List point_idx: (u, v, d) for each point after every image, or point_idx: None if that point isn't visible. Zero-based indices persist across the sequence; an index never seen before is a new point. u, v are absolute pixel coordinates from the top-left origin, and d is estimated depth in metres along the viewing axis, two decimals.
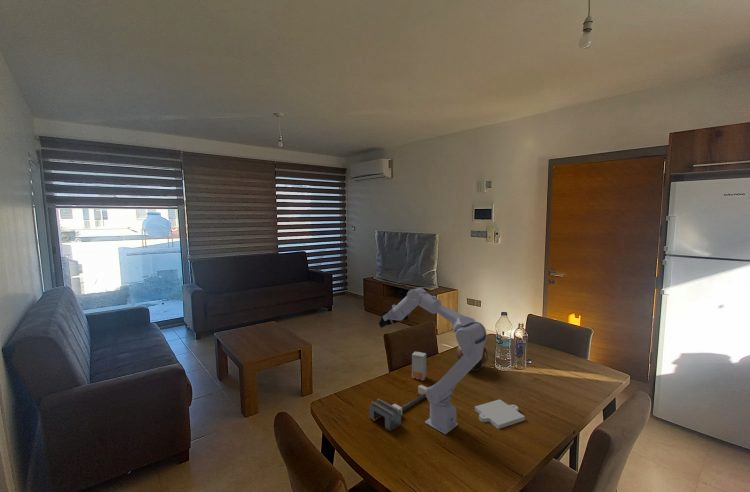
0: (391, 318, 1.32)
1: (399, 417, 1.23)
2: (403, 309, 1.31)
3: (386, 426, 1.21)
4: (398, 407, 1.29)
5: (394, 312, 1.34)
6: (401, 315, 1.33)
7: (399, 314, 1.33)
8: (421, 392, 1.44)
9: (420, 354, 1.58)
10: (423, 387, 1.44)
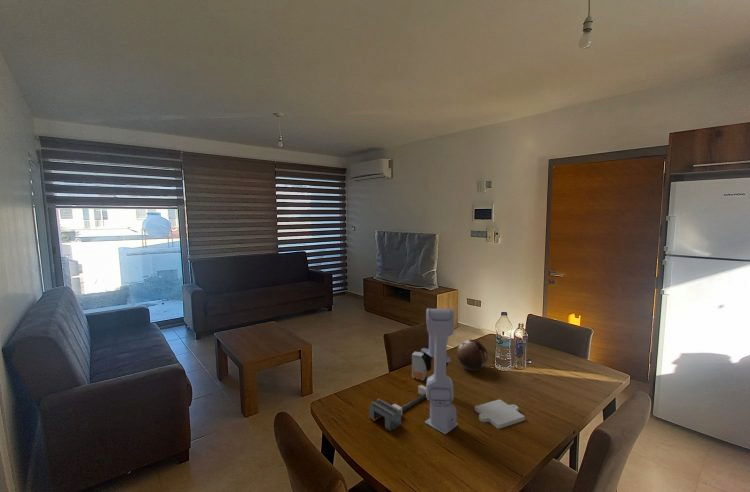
0: (424, 350, 1.48)
1: (399, 417, 1.23)
2: (429, 340, 1.44)
3: (386, 426, 1.21)
4: (398, 407, 1.29)
5: None
6: (429, 347, 1.45)
7: None
8: (421, 392, 1.44)
9: (420, 354, 1.58)
10: (423, 387, 1.44)
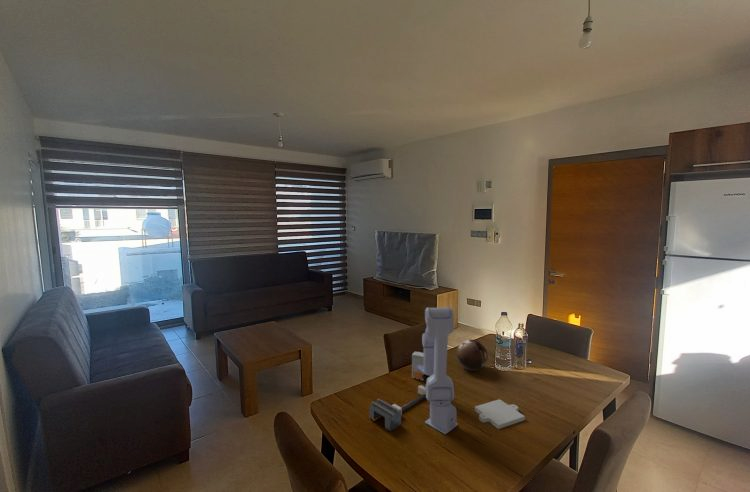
0: (419, 368, 1.47)
1: (399, 417, 1.23)
2: (424, 358, 1.42)
3: (386, 426, 1.21)
4: (398, 407, 1.29)
5: None
6: None
7: None
8: (421, 392, 1.44)
9: (420, 354, 1.58)
10: (423, 387, 1.44)
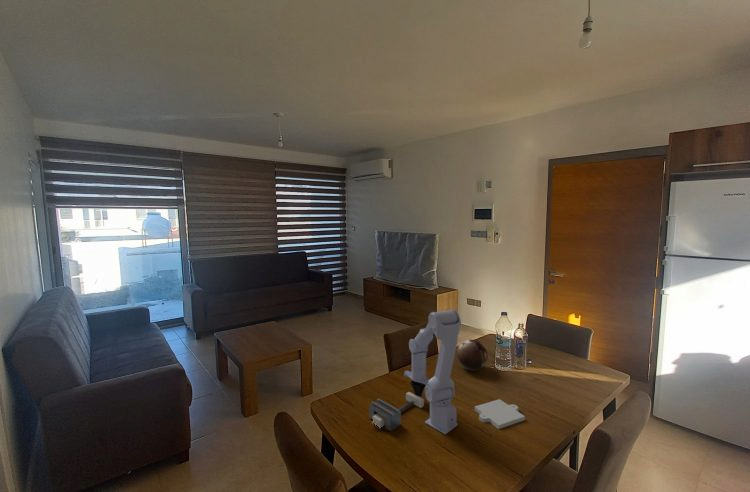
0: (407, 373, 1.41)
1: (399, 417, 1.23)
2: (414, 365, 1.36)
3: (386, 426, 1.21)
4: (383, 416, 1.24)
5: None
6: None
7: None
8: (409, 399, 1.39)
9: None
10: (411, 394, 1.39)
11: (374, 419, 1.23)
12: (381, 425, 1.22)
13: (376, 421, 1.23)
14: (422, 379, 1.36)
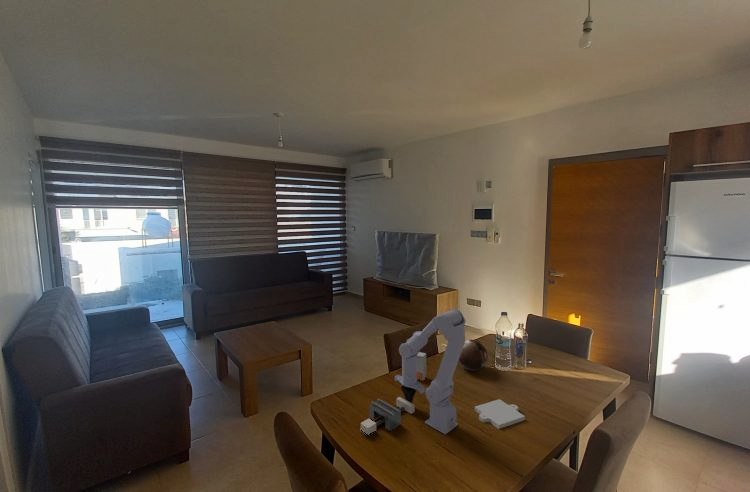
0: (398, 378, 1.37)
1: (399, 417, 1.23)
2: (406, 370, 1.31)
3: (386, 426, 1.21)
4: (372, 422, 1.20)
5: None
6: (402, 375, 1.34)
7: None
8: (399, 405, 1.35)
9: (420, 354, 1.58)
10: (401, 399, 1.35)
11: (362, 426, 1.19)
12: (369, 432, 1.18)
13: (364, 428, 1.19)
14: (413, 384, 1.32)
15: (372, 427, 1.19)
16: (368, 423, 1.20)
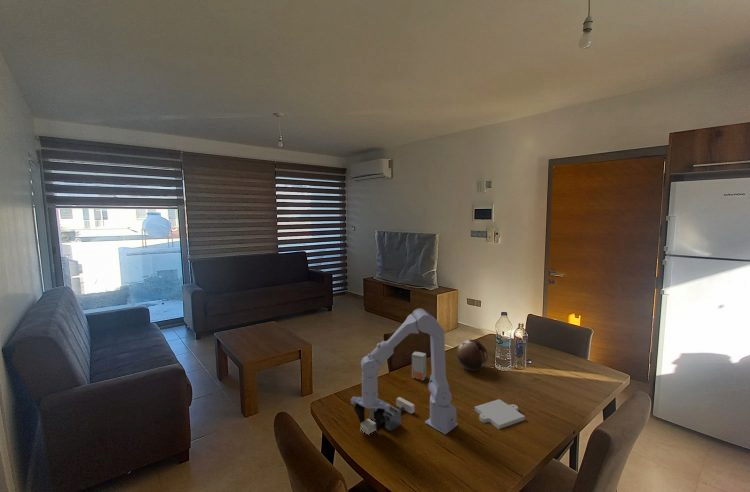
0: (356, 400, 1.20)
1: (399, 417, 1.23)
2: (373, 389, 1.17)
3: (386, 426, 1.21)
4: (372, 422, 1.20)
5: None
6: (362, 396, 1.18)
7: (362, 395, 1.19)
8: (399, 405, 1.35)
9: (420, 354, 1.58)
10: (401, 399, 1.35)
11: (362, 426, 1.19)
12: (369, 432, 1.18)
13: (364, 428, 1.19)
14: (376, 403, 1.18)
15: (372, 427, 1.19)
16: (368, 423, 1.20)
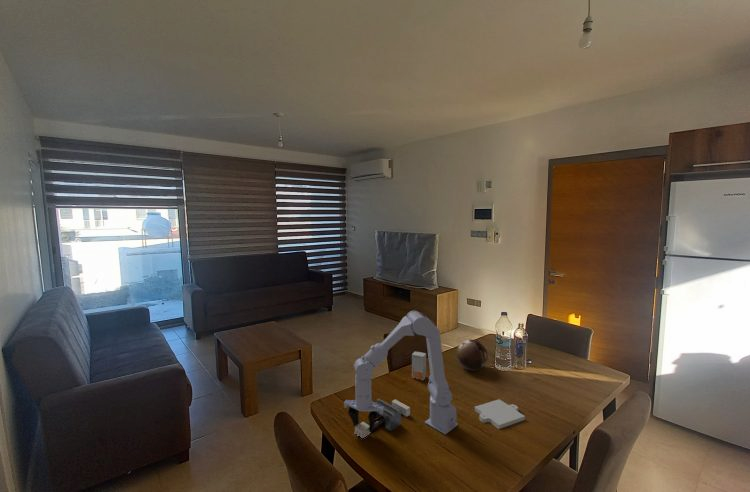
0: (349, 404, 1.18)
1: (399, 417, 1.23)
2: (367, 392, 1.15)
3: (386, 426, 1.21)
4: (366, 426, 1.18)
5: None
6: (356, 399, 1.16)
7: None
8: (395, 407, 1.33)
9: (420, 354, 1.58)
10: (397, 402, 1.33)
11: (356, 429, 1.17)
12: (363, 436, 1.16)
13: (358, 431, 1.17)
14: (370, 406, 1.16)
15: (366, 430, 1.17)
16: (362, 426, 1.18)
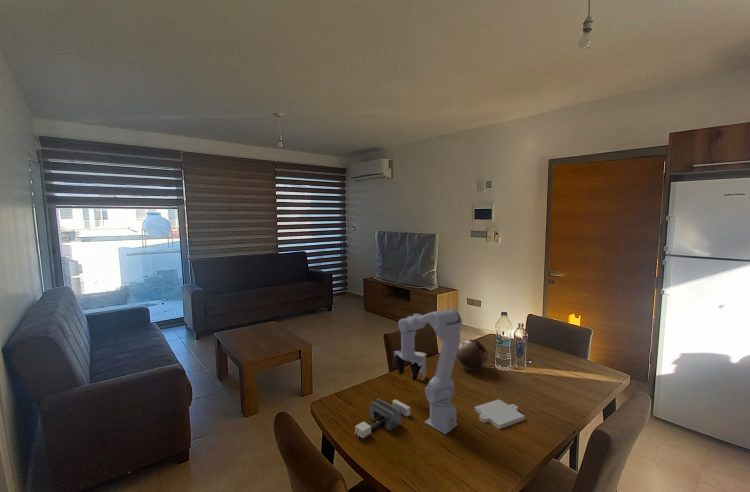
0: (397, 353, 1.44)
1: (399, 417, 1.23)
2: (404, 344, 1.38)
3: (386, 426, 1.21)
4: (366, 426, 1.18)
5: None
6: (401, 350, 1.40)
7: (401, 349, 1.41)
8: (395, 407, 1.33)
9: (420, 354, 1.58)
10: (397, 402, 1.33)
11: (357, 429, 1.18)
12: (364, 436, 1.16)
13: (359, 431, 1.17)
14: (411, 358, 1.38)
15: (367, 430, 1.17)
16: (363, 426, 1.18)
